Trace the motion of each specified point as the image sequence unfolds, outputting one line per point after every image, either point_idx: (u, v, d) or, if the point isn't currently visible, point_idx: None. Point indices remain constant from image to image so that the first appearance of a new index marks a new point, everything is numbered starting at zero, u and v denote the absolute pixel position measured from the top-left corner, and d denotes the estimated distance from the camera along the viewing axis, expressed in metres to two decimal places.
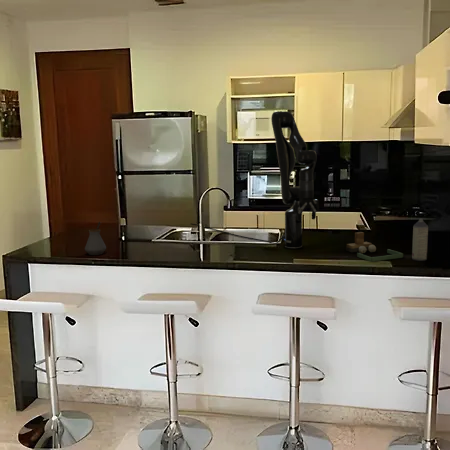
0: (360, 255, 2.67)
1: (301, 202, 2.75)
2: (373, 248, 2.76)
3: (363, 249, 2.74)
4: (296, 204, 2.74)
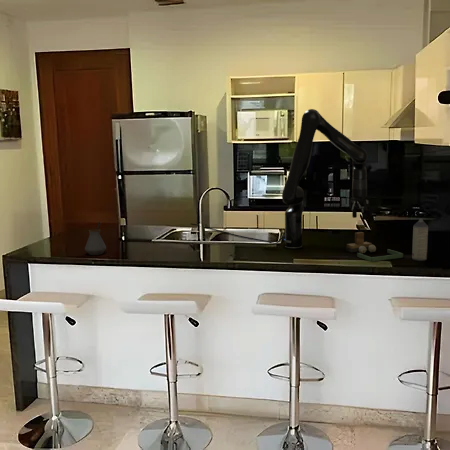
0: (360, 255, 2.67)
1: (353, 199, 2.81)
2: (373, 248, 2.76)
3: (363, 249, 2.74)
4: (350, 200, 2.84)
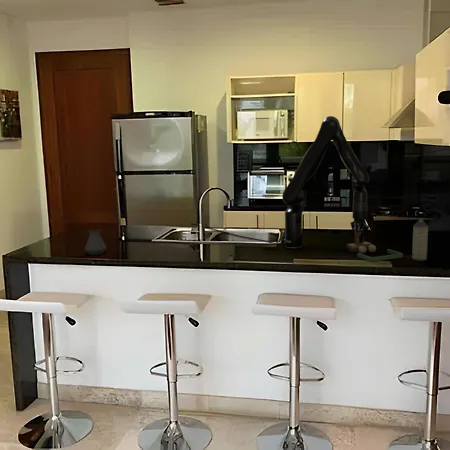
0: (360, 255, 2.67)
1: (354, 221, 2.84)
2: (373, 248, 2.76)
3: (363, 249, 2.74)
4: (351, 225, 2.86)
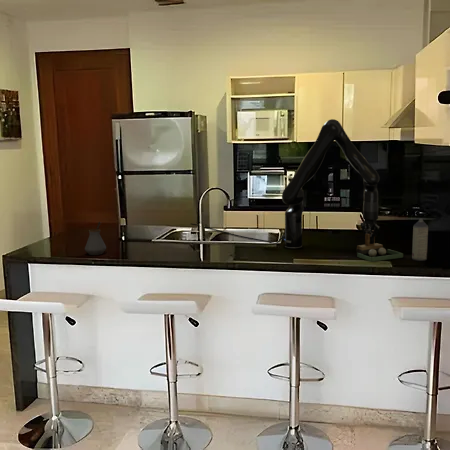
0: (360, 255, 2.67)
1: (364, 222, 2.75)
2: None
3: None
4: (361, 225, 2.78)
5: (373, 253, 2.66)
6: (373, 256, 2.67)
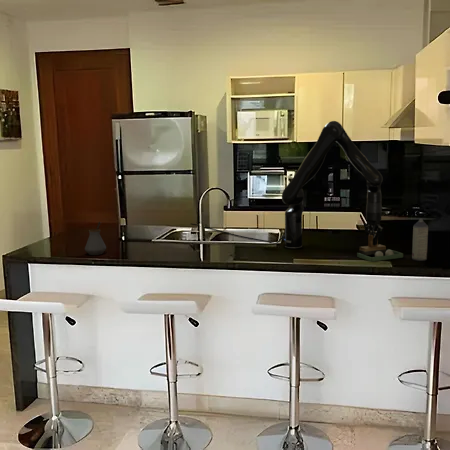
0: (360, 255, 2.67)
1: (367, 223, 2.73)
2: None
3: None
4: (364, 227, 2.75)
5: None
6: None
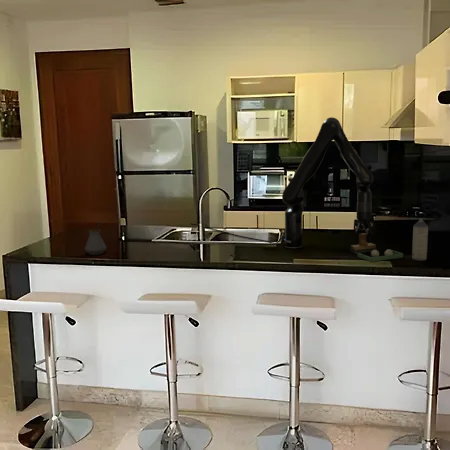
0: (360, 255, 2.67)
1: (358, 221, 2.80)
2: (390, 254, 2.64)
3: (374, 250, 2.65)
4: (354, 222, 2.83)
5: None
6: None
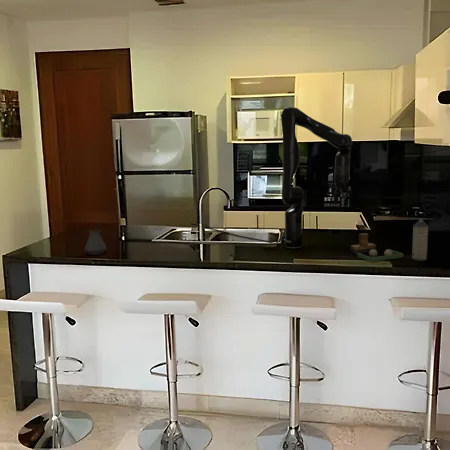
0: (360, 255, 2.67)
1: (335, 186, 2.77)
2: (389, 253, 2.64)
3: (370, 250, 2.68)
4: (332, 186, 2.79)
5: (374, 254, 2.66)
6: None
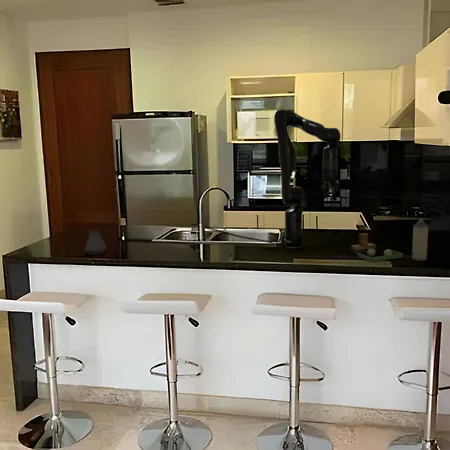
0: (360, 255, 2.67)
1: (324, 180, 2.76)
2: (389, 253, 2.65)
3: None
4: (321, 181, 2.79)
5: (371, 251, 2.67)
6: (372, 254, 2.67)
